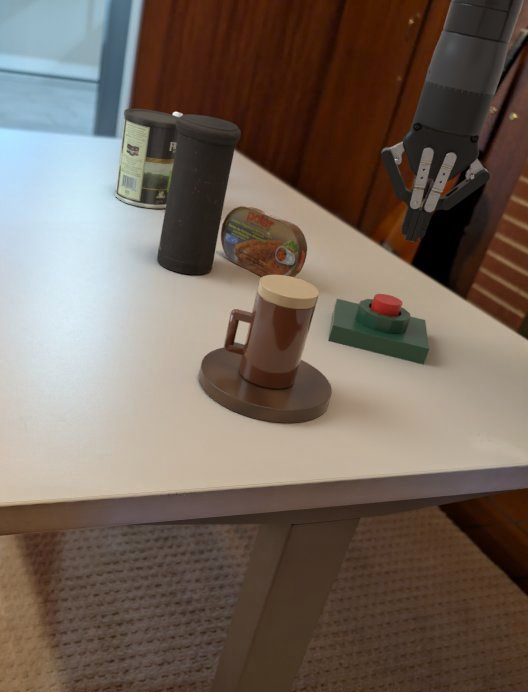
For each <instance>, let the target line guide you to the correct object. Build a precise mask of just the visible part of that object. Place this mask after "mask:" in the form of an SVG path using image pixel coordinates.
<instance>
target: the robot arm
mask: <svg viewBox="0 0 528 692" xmlns="http://www.w3.org/2000/svg"><path fill="white" fill-rule="evenodd" d="M524 1H525V0H451V1H450V3H449V7H448V10H447V14H446V17H445V21H444V24H443V27H442V31H441V33H440V36H439V39H438V41H437V43H436V46H435V47H434V48H435V49H434V51H433V53H432V56H431V59H430V63H429V65H428V66H427V70H426V76H425V79H424V82H423V85H422V89H421V92H420V96H419V100H418V103H417V107H416V110H415V113H414V115H413V116H414V117H413V119H412V123H411V125H410V128H409V129H408V130H407V131H406V133H404V135H403V137H402V141H400V142H398V143H396V144H394V145H393V146H390V147H389V146H385V147H383V148H382V149H381V152H380V159H381V161H382V163H383V166H384V168H385V171H386V174H387V176H388V178H389V182H390V183H391V187H392V189H393V191H394V193H395V196H396V199H398V200H399V201H402V202H403V203H405V204H406V206H407V207H406V210H405V213H404V217H403V220H402V223H401V227H400V229H401V234H402V235H404V236H403V238H404V239H403V240H404V241H409V242H412V243H418V239H423V238H424V237H425V235H426V233H427V230H428V227H429V224H430V222H431V218H432V216H433V213H435V212H436V211H441V210H443V211H449V210H451V209H452V208H453V207H454V206H457V204H459V203H460V202H461V201H463V200H464V199H466V198H467V197H468V196H470V195H471V194H473V193H474V192H475V191H477V190H478V189H479V188H480V187H482V186H483V185H485V184H487V182H489V181H490V178H491V175H490V172H489V171H488V169H487V168H485V167H484V165H482V163H481V161H480V160H479V159H478V158H479V155H480V148H479V141H480V137H481V135H482V132H483V129H484V126H485V124H486V121H487V117H488V116H489V115H488V114H489V111H490V108H491V106H492V103H493V100H494V97H495V94H496V91H497V88H498V85H499V82H500V80H501V77H502V75H503V71H504V67H505V63H506V59H507V53H508V50H509V47H510V42H511V39H512V37H513V35H514V31H515V28H516V25H517V22H518V20H519V16H520V14H521V12H522V8H523V5H524ZM403 153H405V156H406V159H407V162H408V165H409V168H410V170H411V173H412V174H413V175H414V176H413V181H412V186H411V189H409V188H407V186H406V183H405V181H404V178H403V176H402V173H401V171H400V169H399V168H400V167H399V165H400V164H401V163H402V161H403V157H402V155H403ZM467 168H468V170H466V169H467ZM465 170H466V172H465V179H464V180H462V181H461V182H460V183H458V184H457V185H456V186H454V187H453V188H452V189H450V190H449V191H447V192H446V193H445V194H443V192H444V189H445V186H446V184H447V182H450V181H452V180H453V179H455V178H456V177H458V176H459V175H460V174H461V173H463V172H464V171H465ZM428 179H431V181H430V184H429V188H428V189H427V193H426V195H425V197H424V192H425V189H426V186H427V182H428ZM442 194H443V195H442ZM423 197H424V200H423ZM422 201H423V203H422ZM421 205H422V206H421Z"/></svg>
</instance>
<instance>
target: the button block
mask: <svg viewBox="0 0 528 692" xmlns="http://www.w3.org/2000/svg"><path fill="white" fill-rule="evenodd" d="M373 299H374V298H365V299H363V300H360V301H359V303H358V302H353V301H350V300H349V301H348V300H346V299H341V298H336V299H335V304H334V306H333V311H332V314H331V322H330V327H329V333H328V340H327V341H328V342H331V343H336V344H339V345H342V346H343V345H344V346H347V347H350V348H354V349H359V350H363V351H367V352H372V353H375V354H380V355H382V356H387V357H392V358H395V359H398V360H399V359H400V360H404V361H407V362H412V363H415V364H420V365H425V362H426V360H427V356H428V354H429V351H430V345H429V337H428V331H427V323H426V320H425V319H422V318H418V317H414V316H411V313H410V312H409V311H408V310H407V309H406V308H404V307H403V306H402V307H401V310H400V312H399V315H398V317H392V316H387V315H382V314H379V313H377V312H375V311H373V310H372V309H370V308H371V305H372V302H373Z"/></svg>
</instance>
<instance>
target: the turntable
mask: <svg viewBox="0 0 528 692" xmlns="http://www.w3.org/2000/svg"><path fill="white" fill-rule="evenodd" d="M241 358H242V355H241V354H237V353H233V352H229V351H227V350H225V348H224V346H223V347H219V348H216V349H214V350H211V351H210V352H208V353H207V354H206V355H205V356H204V357H203V358H202V360H201V363H200V367H199V368H200V369H199V371H198V380H199V384H200V387H201V388H202V390H203V391H204V393H206V395H208V396H209V397H210V398H211V399H212V400H213V401H215V402H216V403H218V404H219V405H221V406H222V407H224V408H226V409H227V410H230V411H232V412H235V413H237V414H240V415H242V416H245V417H248V418H251V419H252V418H253V419H255V420H260V421H265V422H270V423H279V424H280V423H281V424H296V423H303V422H307V421H308V422H309V421H311V420H315V419H316V418H319V417H321V416H322V414H324V413H325V412H326V410H327V409H328V406H329V403H330V400H331V397H332V393H333V392H332V386H331V383H330V381H329V380H328V378H327V377H326V375H324V374H323V373H322V372H321V371H320V370H319V369H318V368H316V367H315V366H313V365H311V364H310V363H308V362H307V361H305V360H302V359H301V361H300V365H299V368H298V372H297V375H296V379H295V382H294V384H293V385H292V386H290V387H287V388H282V389H273V388H266V387H262V386H259V385H256V384H254V383H252V382H250V381H248V380H246V379H245V378H244V377H243V376H242V375H241V374H240V371H239V367H240V362H241Z"/></svg>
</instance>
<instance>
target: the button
mask: <svg viewBox="0 0 528 692" xmlns="http://www.w3.org/2000/svg"><path fill="white" fill-rule="evenodd" d="M372 299H373V302H372V305H371V308H370V309H372V310H373V311H375V312H377V313H379V314H382V315H387V316H392V317H398V315H399V312H400V310H401V307H402V308H403V301H402V300H401V299H400V298H398V297H396V296H394V295H390V294H386V293H376V294H374V296H373V298H372Z"/></svg>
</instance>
